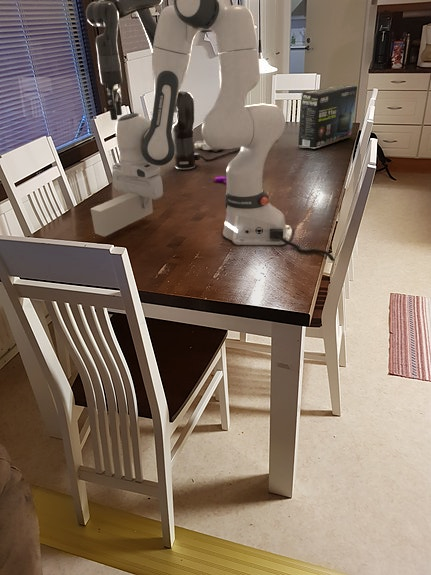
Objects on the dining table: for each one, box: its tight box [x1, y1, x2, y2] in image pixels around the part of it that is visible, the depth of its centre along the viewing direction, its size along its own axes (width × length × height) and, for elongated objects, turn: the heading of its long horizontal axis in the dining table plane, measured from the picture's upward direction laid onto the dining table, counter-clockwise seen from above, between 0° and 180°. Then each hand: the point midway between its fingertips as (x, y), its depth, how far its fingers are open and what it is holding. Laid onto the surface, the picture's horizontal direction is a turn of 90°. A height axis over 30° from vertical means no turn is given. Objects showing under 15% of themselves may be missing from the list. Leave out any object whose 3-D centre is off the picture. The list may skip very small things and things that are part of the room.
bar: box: [90, 192, 154, 237], centre depth 151 cm, size 23×4×8 cm, turn 144°
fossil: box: [194, 139, 221, 153], centre depth 243 cm, size 18×11×15 cm
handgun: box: [214, 176, 226, 184], centre depth 189 cm, size 21×8×2 cm, turn 11°
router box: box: [297, 84, 358, 151], centre depth 238 cm, size 36×11×27 cm, turn 134°
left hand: (116, 117), depth 169 cm, fingers open, 8 cm apart
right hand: (139, 206), depth 157 cm, fingers closed on bar, 4 cm apart
